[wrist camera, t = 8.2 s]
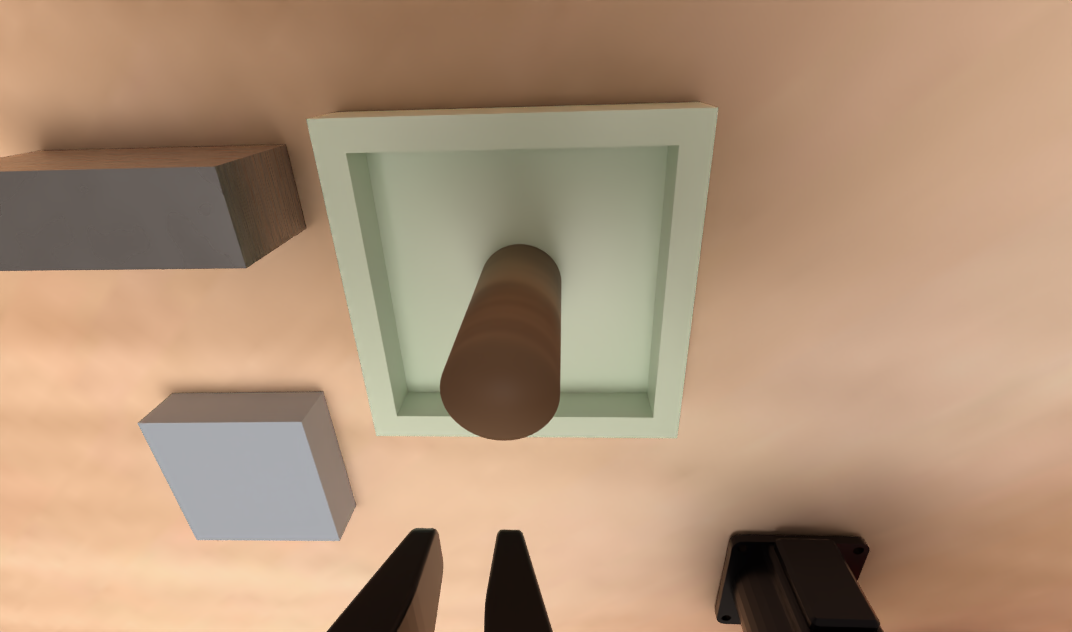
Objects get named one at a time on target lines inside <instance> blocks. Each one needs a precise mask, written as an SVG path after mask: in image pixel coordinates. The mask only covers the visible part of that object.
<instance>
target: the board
mask: <svg viewBox="0 0 1072 632" xmlns="http://www.w3.org/2000/svg"><path fill="white" fill-rule="evenodd" d="M138 425H139V427H140V429H141V431H142V433H143V435H144V437H145V439H146V441H147V443H148V445H149V447H150V449H151V451H152V453H153V455H154V457H155V459H156V461H157V462H158V464H159V466H160V468H161V470H162V472H163V474H164V476H165V478H166V480H167V482H168V484H169V486H170V488H171V490H172V492H173V494H174V496H175V498H176V500H177V502H178V504H179V506H180V508H181V510H182V512H183V514H184V516H185V518H186V520H187V522H188V524H189V526H190V528H191V529H192V531H193V533H194V535H195V537H196V539H197V540H289V541H340V539H341V537H342V535H343V533H344V531H345V528H346V526H347V524H348V522H349V520H350V518H351V515H352V513H353V511H354V509H355V507H356V503H355V500H354V496H353V493H352V490H351V486H350V483H349V479H348V476H347V472H346V469H345V465H344V462H343V458H342V455H341V451H340V448H339V445H338V441H337V438H336V434H335V431H334V427H333V424H332V420H331V417H330V413H329V410H328V407H327V403H326V400H325V396H324V393H323V392H237V393H172V394H171V395H170V396H169V397H168V398H166V399H165V400H164V401H163V402H162V403H161V404H159V405H158V406H157V407H156V408H155V409H154V410H152V411H151V412H150V413H149V414H148V415H147V416H145V417H144V418H143V419H142V420H141V421H140V422H138Z"/></svg>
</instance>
